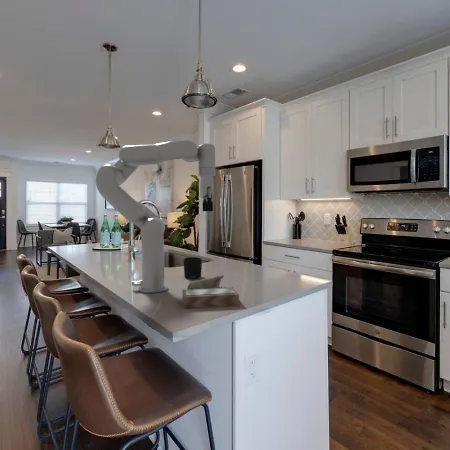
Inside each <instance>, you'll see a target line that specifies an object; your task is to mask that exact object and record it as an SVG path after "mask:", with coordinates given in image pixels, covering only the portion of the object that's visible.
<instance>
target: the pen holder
mask: <svg viewBox="0 0 450 450" xmlns="http://www.w3.org/2000/svg"><path fill="white" fill-rule="evenodd" d="M202 262H203V261H202V258H201V257H197V256H196V257H194V256H191V257H185V258H184V259H183V269H184V270H183V273H184V274H183V275H184V278H185V279H187V280H197V279H198V280H200V279H201V278H202V271H203V270H202V269H203V268H202V265H203V264H202Z"/></svg>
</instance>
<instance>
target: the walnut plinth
mask: <svg viewBox="0 0 450 450" xmlns="http://www.w3.org/2000/svg"><path fill="white" fill-rule="evenodd" d="M182 304H183V309H196V308H197V309H198V308H216V307H217V308H218V307H231V306H232V307H234V306H239V305H240V294H239V293H238V292H237V290H236V289H235V288H234V287H222V288H221V287H220V288H208V289H182Z"/></svg>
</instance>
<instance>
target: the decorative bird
mask: <svg viewBox="0 0 450 450" xmlns="http://www.w3.org/2000/svg"><path fill="white" fill-rule="evenodd" d="M224 277H225V276H224V274H221V275H217V276H213V277H208V278H202V279H201V278H200V279H198V280H197V279H195V280H193V281H191V282H189V283H188V285H187V289H208V288H223V285H222V284H221V281H222V279H223V278H224ZM220 285H221V287H220ZM187 289H186V290H187Z"/></svg>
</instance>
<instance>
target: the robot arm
mask: <svg viewBox="0 0 450 450" xmlns="http://www.w3.org/2000/svg"><path fill="white" fill-rule="evenodd" d="M118 158H119V159H118V160H117V161H116V163H115V164H114V165H113V164H104V165H101V166H100V168H98V170H97V172H96V176H95V185H96V188H97V191H98V193H99V194H100V196H101V197H102V198H103V199H104V200H105V201H106V202H107V203H108V205H110V206H111V207H112V208H114V209H115V210H116V211H117V212H118V214H120V215H121V216H122V217H123V218H124V219H125V220H126V221H127V222H129V223H133V224H134V225H136V226H137V227H138V228H139V229H140V239H141V241H140V242H141V271H142V272H141V279H140V280H131V286H134V287H138V291H139V292H141V293H149V294H150V293H151V294H155V293H161V292H165V291H167V290H168V289H169V285H167V284H165V238H164V234H165V230H166V227H165V223H164V221H163V220H162V219H161V218H160V217H159V216H158V215H156V213H155V212H153V211H152V210H151V209H150V208H149V207H148V206H146V205H145V204H144V203H142V202H140V201H137V200H136V199H134V198H133V197H132V196H131V195H130V193H128V192H127V191H126V190H124V188H123V187H122V186H121V185H123V184H124V183H125V182H126V181H127V180H128V179H129V177H130V176H132V175H133V173H134V172H136V170H137V169H138V168H139V167H140V166H146V165H147V166H148V165H159V164H163V163H165V162H167V161H172V160H181V159H182V160H184V162H187V163H193V162H198V163H197V164H198V165H197V166H198V168H197V169H198V176H199V177H200V181H199V182H200V184H199V185H200V187H199V191H200V192H199V194H200V195H199V197H200V199H202V202H201V203H202V212H213V211H214V202H213V197H214V188H215V187H214V177H216V147H215V145H214V144H211V143H202V144H200V145H197V143H195V142H194V141H192V140H172V141H166V142H159V143H153V144H152V143H151V144H138V145H137V144H136V145H134V144H133V145H132V144H131V145H123V146H122V147H121V148H120V149H119V151H118Z"/></svg>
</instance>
